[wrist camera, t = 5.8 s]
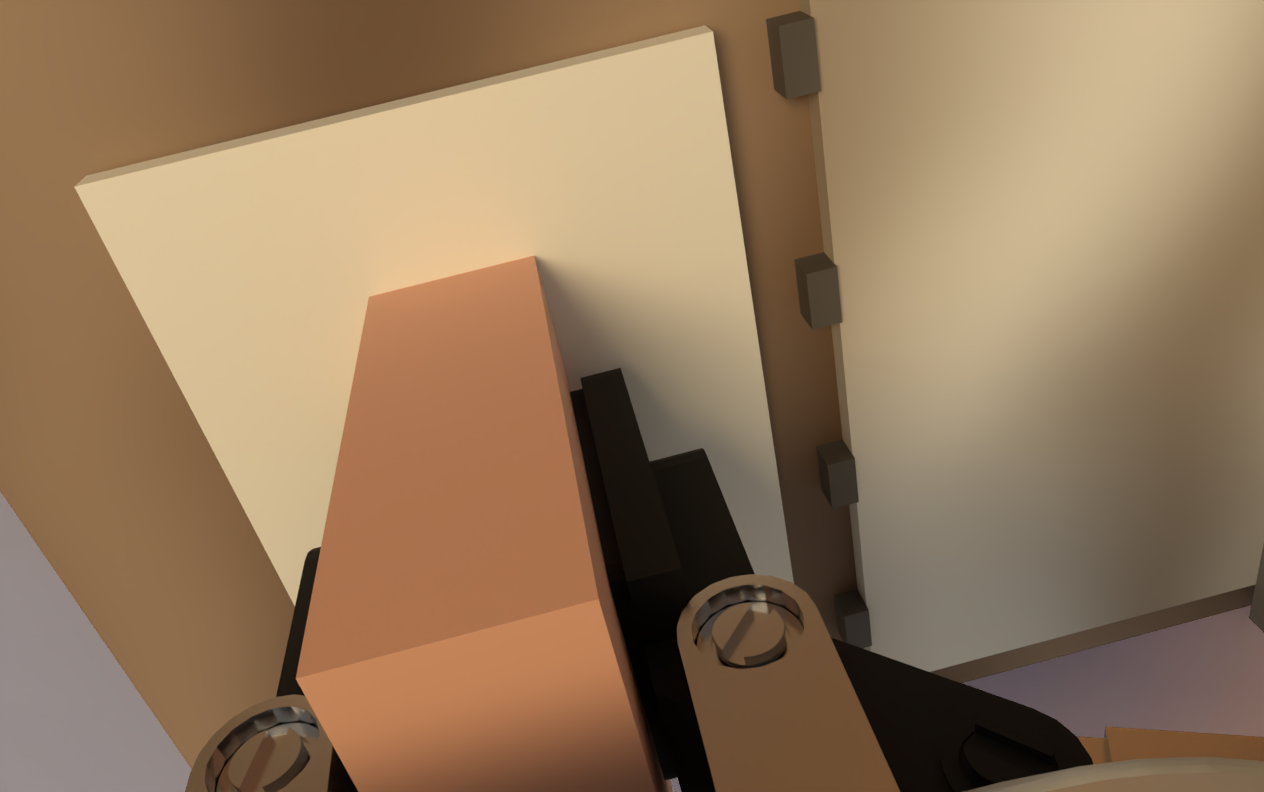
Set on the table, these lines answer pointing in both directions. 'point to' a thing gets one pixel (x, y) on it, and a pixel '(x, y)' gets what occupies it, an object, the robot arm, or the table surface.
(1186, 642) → the table surface
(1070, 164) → the ticket board
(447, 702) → the stub
